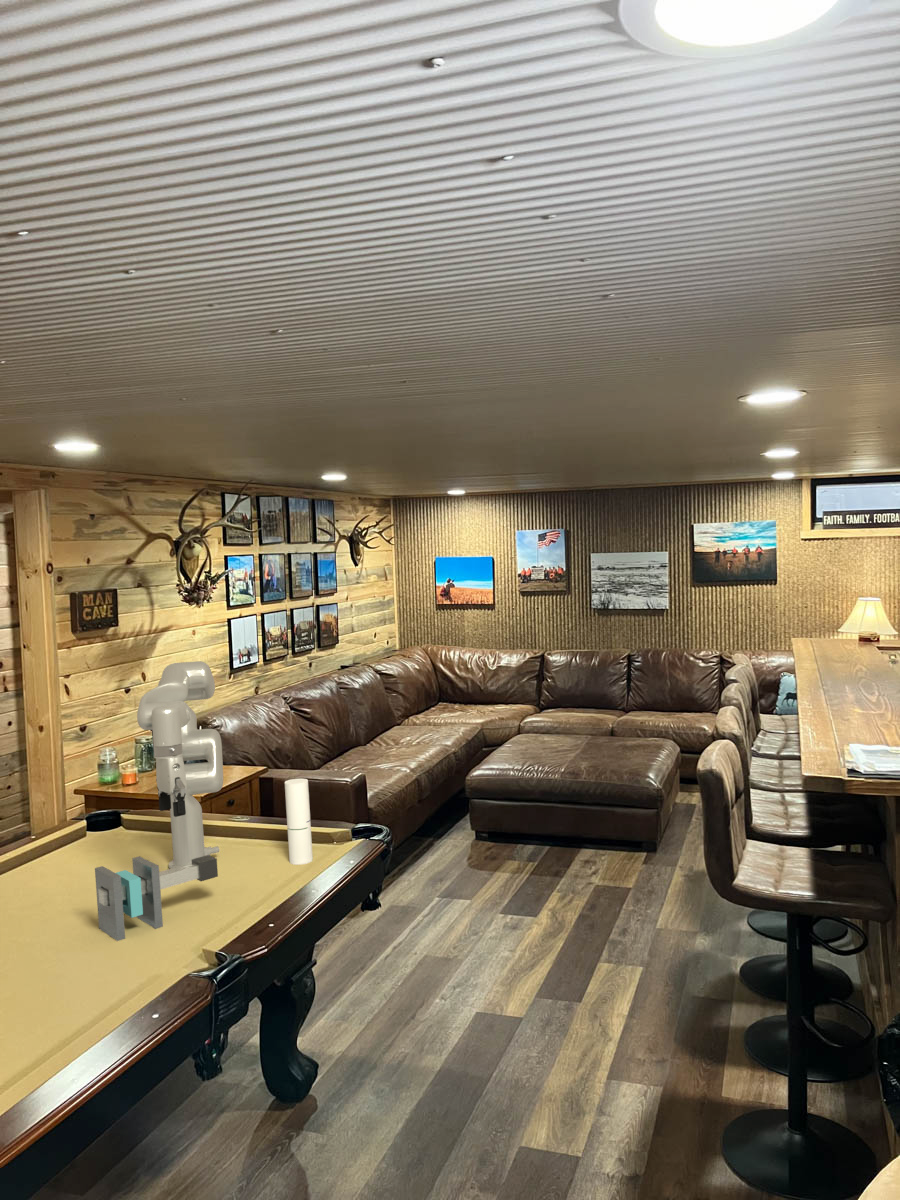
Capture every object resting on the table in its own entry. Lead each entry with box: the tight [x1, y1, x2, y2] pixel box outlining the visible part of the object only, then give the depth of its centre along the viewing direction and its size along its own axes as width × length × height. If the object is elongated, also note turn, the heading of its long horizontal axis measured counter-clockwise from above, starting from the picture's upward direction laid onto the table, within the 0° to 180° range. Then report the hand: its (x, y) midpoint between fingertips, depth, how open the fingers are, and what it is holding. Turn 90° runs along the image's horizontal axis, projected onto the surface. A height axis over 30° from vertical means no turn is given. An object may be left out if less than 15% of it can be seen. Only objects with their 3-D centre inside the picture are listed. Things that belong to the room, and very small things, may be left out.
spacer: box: [115, 869, 143, 919], centre depth 239 cm, size 3×10×10 cm, turn 42°
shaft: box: [98, 855, 219, 906], centre depth 245 cm, size 31×5×5 cm, turn 132°
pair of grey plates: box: [94, 856, 164, 942], centre depth 239 cm, size 12×12×16 cm
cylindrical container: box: [284, 778, 314, 866], centre depth 286 cm, size 7×7×25 cm
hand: (172, 812), depth 253 cm, fingers open, 9 cm apart
